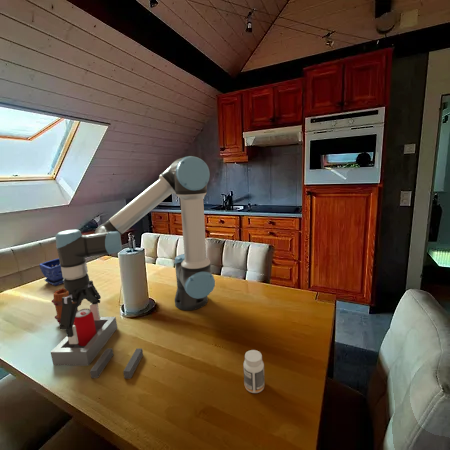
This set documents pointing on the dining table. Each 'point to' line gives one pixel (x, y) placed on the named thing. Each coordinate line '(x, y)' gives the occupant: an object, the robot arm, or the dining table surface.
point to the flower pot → (52, 272)
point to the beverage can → (84, 326)
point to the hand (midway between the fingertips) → (85, 330)
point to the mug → (59, 302)
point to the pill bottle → (253, 371)
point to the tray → (85, 355)
